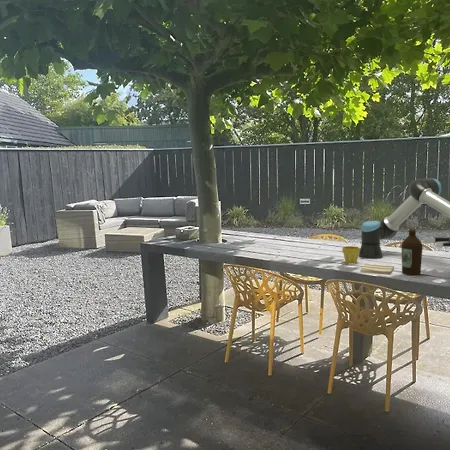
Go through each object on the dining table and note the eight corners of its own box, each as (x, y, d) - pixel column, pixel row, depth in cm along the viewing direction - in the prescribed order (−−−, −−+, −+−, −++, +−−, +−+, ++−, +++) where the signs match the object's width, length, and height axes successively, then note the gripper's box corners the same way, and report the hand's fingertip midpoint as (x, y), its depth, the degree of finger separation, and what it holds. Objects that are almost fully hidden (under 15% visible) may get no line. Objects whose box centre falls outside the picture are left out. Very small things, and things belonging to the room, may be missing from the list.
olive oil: (410, 270, 243) (411, 227, 240) (426, 274, 233) (427, 229, 230) (396, 273, 239) (397, 228, 236) (411, 276, 229) (413, 230, 226)
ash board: (365, 266, 257) (365, 264, 256) (393, 268, 249) (393, 266, 249) (360, 272, 243) (360, 269, 242) (390, 274, 235) (390, 271, 235)
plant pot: (349, 265, 262) (349, 249, 260) (338, 262, 271) (339, 246, 270) (363, 263, 266) (363, 247, 264) (352, 260, 275) (352, 245, 274)
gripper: (482, 251, 223) (442, 253, 222) (454, 244, 248) (418, 245, 247) (482, 237, 222) (442, 239, 221) (454, 231, 247) (418, 232, 246)
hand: (429, 242), depth 234 cm, fingers open, 13 cm apart
